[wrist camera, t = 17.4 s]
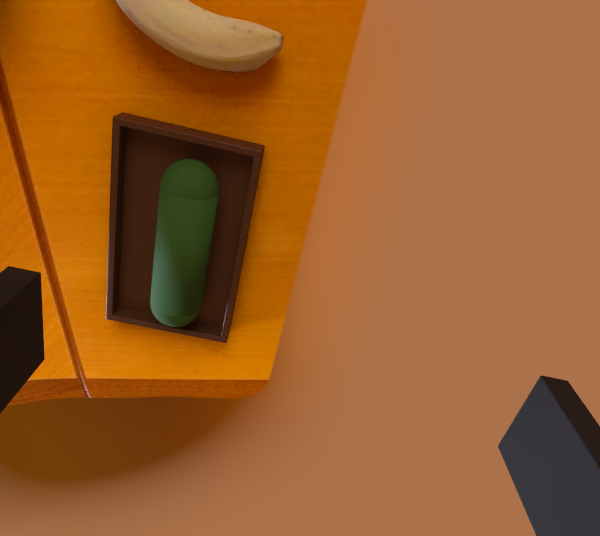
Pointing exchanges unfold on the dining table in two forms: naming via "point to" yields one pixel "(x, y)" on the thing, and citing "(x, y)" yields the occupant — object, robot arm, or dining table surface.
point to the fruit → (204, 34)
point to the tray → (144, 209)
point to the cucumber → (183, 241)
